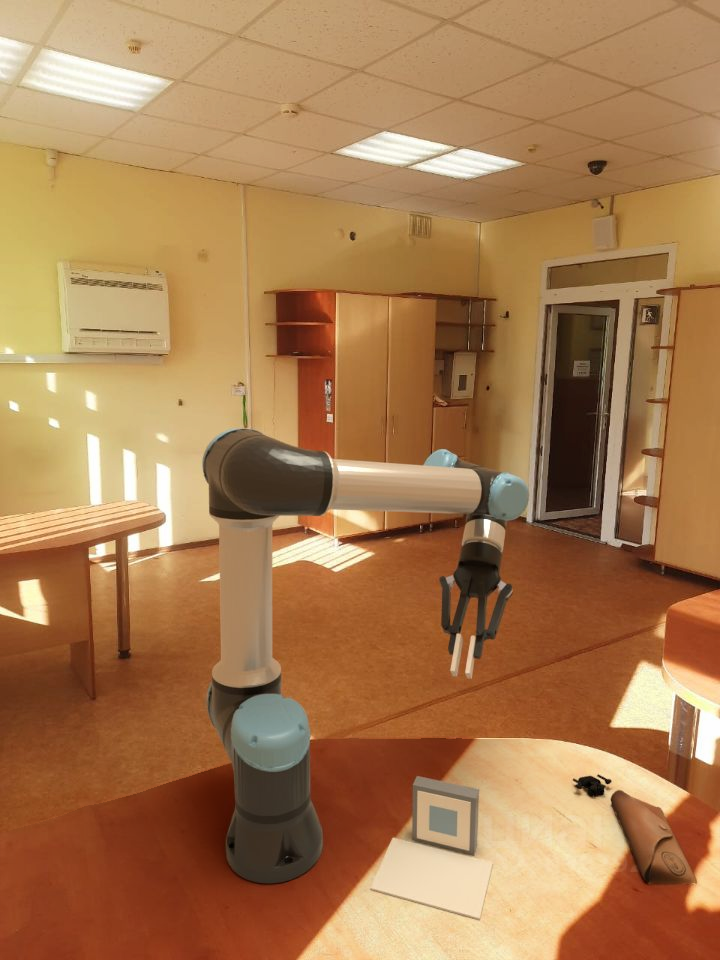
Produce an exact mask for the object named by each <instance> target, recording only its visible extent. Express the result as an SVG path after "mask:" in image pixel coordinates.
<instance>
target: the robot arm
mask: <svg viewBox="0 0 720 960" xmlns="http://www.w3.org/2000/svg"><path fill="white" fill-rule="evenodd" d="M201 461H202V464H201V465H202V472H203V477H204V479H205V481H206V483H207V484H208V511H209V516H210V517H211V518H212V519H213V520H214V521H215V522H216V523H217V524H218V543H219V545H218V546H219V547H218V548H219V549H218V550H219V557H218V558H219V610H220V611H219V615H220V617H219V619H220V622H219V624H220V625H219V626H220V660H219V661H218V662H217V663H216V664H215V665H214V666H213V667H212V669H211V682H210V683H209V685H208V688H207V693H206V709H207V714H208V717H209V720H210V722H211V725H213V727H214V728H215V731H216V732H217V735H218V737H219V739H220V741H221V743H222V745H223V747H224V749H225V751H226V754H227V756H228V759H229V760H230V763H231V765H232V771H233V777H234V778H233V779H234V780H233V781H234V782H233V783H234V785H233V786H234V800H235V801H234V802H235V804H234V805H235V807H234V811H233V814H232V816H231V820H230V824H229V827H228V829H227V833H226V838H225V854H226V860H227V862H228V865H229V867H230V866H231V867H230V869H232V871H233V872H234V873H236V875H238V876H239V877H241V878H243V879H244V880H247V881H250V882H254V883H258V884H277V883H278V884H279V883H284V882H287V881H288V882H289V881H291V880H293V879H297V877H300V876H301V875H303V874H305V873H307V872H308V871H309V870H310V869H312V868H313V866H315V864H316V863H317V862H318V860H319V859H320V857H321V855H322V851H323V845H324V844H323V843H324V842H323V839H324V838H323V829H322V824H321V822H320V820H319V817H318V814H317V811H316V809H315V807H314V804H313V802H312V800H311V795H312V794H311V753H310V752H311V751H310V750H311V749H310V748H311V746H310V742H311V731H310V729H311V728H310V725H309V718H308V715H307V712H306V711H305V709H304V707H303V706H302V704H300V703H299V702H297V701H296V699H294V698H291V697H285V696H284V695H283V694H282V667H281V664H280V662H278V661H277V660H276V659H275V658H273V525H274V522H275V521H276V520H277V519H278V518H280V516H285V517H287V516H289V517H291V516H295V517H296V516H297V517H298V516H299V517H301V516H305V517H306V516H308V517H309V516H310V517H311V516H313V517H314V516H315V517H322V516H324V515H325V514H327V513H328V511H330V510H338V511H369V512H371V511H374V512H393V513H394V512H395V513H396V512H399V513H400V512H401V513H402V512H403V513H423V514H424V513H426V514H427V513H429V514H453V515H454V514H456V515H457V514H458V515H459V514H460V515H466V518H465V525H464V530H463V535H462V541H461V547H460V552H459V558H458V563H457V568H456V569H455V570H454V572H453V574H452V575H449V576H446V577H445V576H443V575H441V576H440V577H439V579H438V581H439V583H440V586H441V617H440V621H441V623H440V626H441V629H442V630H443V633H445V634H448V635H449V641H448V647H447V651H448V654H449V655H451V656H452V659H451V664H450V670H449V672H450V673H451V676H452V677H458V673H459V666H460V660H461V655H462V650H463V649H462V648H463V643H464V638H463V636H462V633H461V631H462V628H463V625H464V622H465V620H464V619H465V618H466V613H467V610H468V605H469V603H470V601H471V599H472V598H476V599H477V611H476V612H477V613H476V629H475V635H470V639H469V640H470V641H469V646H468V647H469V648H468V651H467V659H466V666H465V669H464V670H465V671H464V674H465V676H466V679H470V680H472V678H473V672H474V665H475V660H476V659H478V660H480V659H481V658H482V657H483V656H482V655H483V650H484V648H483V647H484V643H485V642H486V641H487V640H493V641H494V640H495V639H496V636H497V634H498V632H499V631H498V630H499V628H500V625H501V622H502V621H501V620H502V618H503V615H504V613H505V612H504V611H505V608H506V606H507V605H506V604H507V602H508V600H510V598H511V597H512V596H513V594H514V591H513V585H512V584H511V583H506V582H504V581H502V579H501V574H500V571H501V566H502V559H503V558H502V557H503V553H502V552H503V551H504V546H505V545H504V544H505V536H506V532H507V531H506V529H507V524H508V521H509V522H510V521H513V520H516V519H518V518H520V517H521V516H522V514H523V513H525V511H526V510H527V507H528V505H529V501H530V490H529V486H528V485H527V483H526V482H525V480H523V479H522V478H521V477H519V476H517V475H514V474H511V472H504V471H500V470H496V469H492V468H488V467H485V466H482V465H478V464H475V463H473V462H472V463H471V462H469V461H465V460H463V459H461V458H460V457H458V455H457V454H456V453H453V452H451V451H449V450H447V449H446V448H444V449H443V448H442V449H441V448H440V449H437V450H436V451H434V452H433V453H431V454H430V455H429V456H428V457H427V459H426V460H425V462H424V463H423V464H421V465H420V464H409V463H408V464H407V463H394V462H392V463H391V462H381V461H380V462H378V461H367V460H352V459H339V458H332V457H331V455H330V454H329V453H328V452H327V451H325V450H312V449H307V448H302V447H298V446H294V445H291V444H289V443H286V442H283V441H280V440H279V439H276V438H274V437H271V436H268V435H266V434H264V433H263V432H261V431H258V430H256V429H253V428H244V427H238V428H237V427H236V428H230V429H227V430H224V431H222V432H221V433H219V434H217V435H216V436H215V437H214V438H212V439H211V441H209V443H208V444H207V446H206V448H205V450H204V452H203V456H202V460H201ZM454 584H456V586H457V587H458V589H459V591H460V592H459V599H458V603H457V606H456V610H455V612H454V613H455V614H454V617H453V621H452V624H451V612H452V611H451V607H452V606H451V605H452V603H451V602H452V594H451V590H452V589H453V588H454ZM496 590H498V591H497V592H498V596H497V598H496V601H495V605H494V609H493V610H492V615H491V617H490V620H489V625H488V626H487V629H486V625H487V623H486V621H487V606H488V598H489V596H490V595H492V594H493V592H495V591H496Z"/></svg>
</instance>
